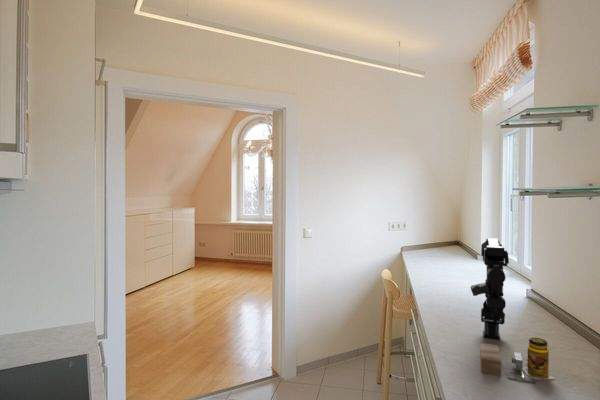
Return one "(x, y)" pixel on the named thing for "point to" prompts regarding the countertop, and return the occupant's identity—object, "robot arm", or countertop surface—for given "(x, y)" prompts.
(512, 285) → the countertop surface
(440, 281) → the countertop surface
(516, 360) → the plunger
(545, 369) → the condiment
